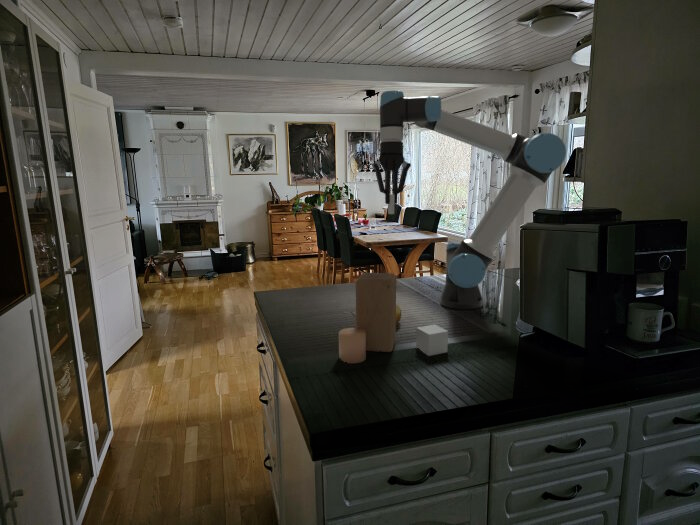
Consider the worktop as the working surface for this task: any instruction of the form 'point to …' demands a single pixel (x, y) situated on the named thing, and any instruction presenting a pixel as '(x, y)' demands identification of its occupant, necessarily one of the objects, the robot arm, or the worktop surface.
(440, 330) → the grey plastic cube
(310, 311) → the worktop surface
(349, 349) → the peach round cylinder
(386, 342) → the wooden block
